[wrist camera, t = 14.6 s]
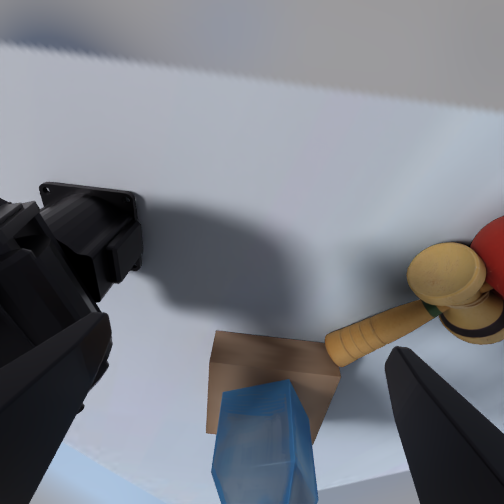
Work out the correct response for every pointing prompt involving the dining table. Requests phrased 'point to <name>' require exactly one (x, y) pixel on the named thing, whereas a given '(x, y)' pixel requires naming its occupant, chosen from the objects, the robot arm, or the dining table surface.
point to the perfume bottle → (264, 447)
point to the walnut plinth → (271, 372)
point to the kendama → (439, 298)
